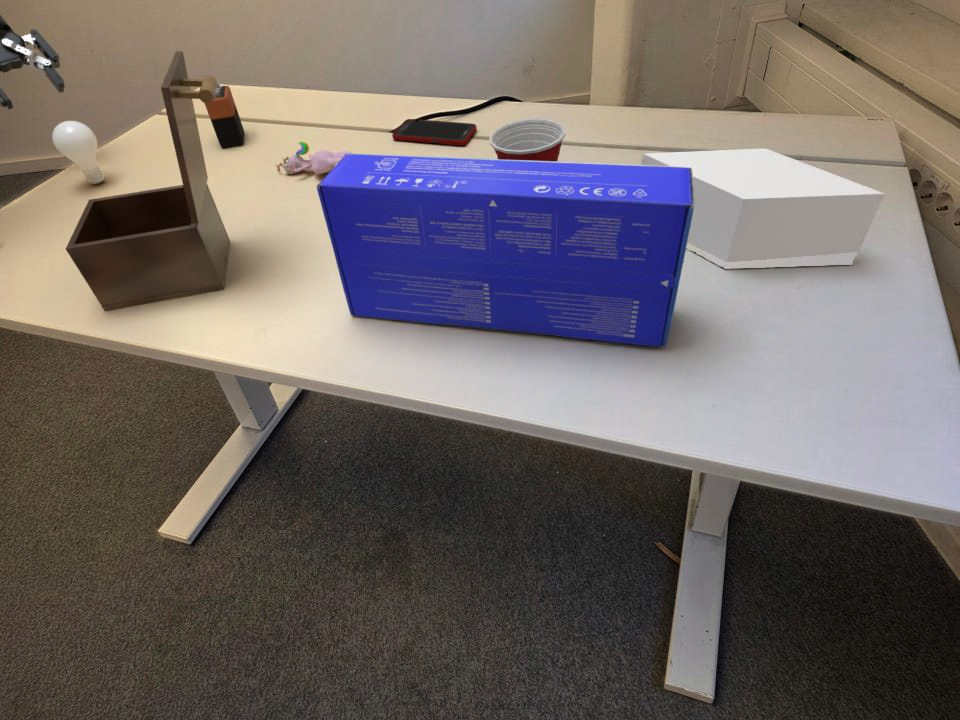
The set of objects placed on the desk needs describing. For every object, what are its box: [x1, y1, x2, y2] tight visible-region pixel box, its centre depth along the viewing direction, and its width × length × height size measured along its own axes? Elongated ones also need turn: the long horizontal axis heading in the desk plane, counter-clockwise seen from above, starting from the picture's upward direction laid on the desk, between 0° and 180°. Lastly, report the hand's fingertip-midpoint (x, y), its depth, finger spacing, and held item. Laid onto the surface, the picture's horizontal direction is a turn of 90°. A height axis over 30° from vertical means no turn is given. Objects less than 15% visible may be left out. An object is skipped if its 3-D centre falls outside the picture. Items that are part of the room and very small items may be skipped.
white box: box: [640, 147, 885, 262], centre depth 80 cm, size 14×29×10 cm, turn 62°
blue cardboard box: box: [316, 153, 694, 347], centre depth 69 cm, size 39×8×18 cm, turn 77°
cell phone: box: [391, 118, 477, 146], centre depth 114 cm, size 8×15×1 cm, turn 72°
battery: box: [204, 83, 245, 149], centre depth 114 cm, size 4×7×10 cm, turn 15°
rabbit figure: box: [275, 141, 354, 175], centre depth 104 cm, size 6×6×15 cm
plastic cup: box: [489, 118, 567, 162], centre depth 89 cm, size 11×11×12 cm
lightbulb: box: [51, 120, 105, 185], centre depth 104 cm, size 6×6×11 cm
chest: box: [65, 183, 231, 312], centre depth 83 cm, size 16×13×10 cm
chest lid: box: [160, 50, 218, 224], centre depth 75 cm, size 16×13×5 cm
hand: (36, 97), depth 103 cm, fingers open, 8 cm apart
